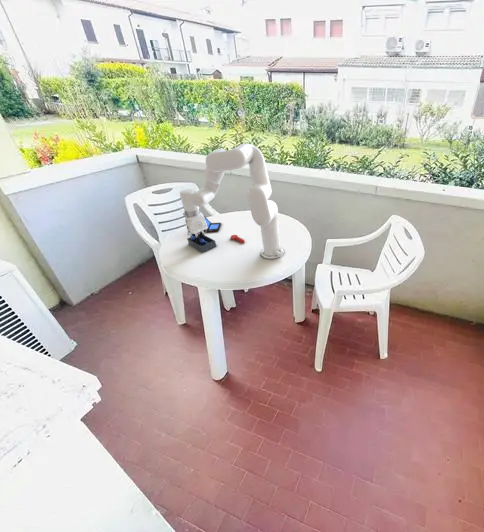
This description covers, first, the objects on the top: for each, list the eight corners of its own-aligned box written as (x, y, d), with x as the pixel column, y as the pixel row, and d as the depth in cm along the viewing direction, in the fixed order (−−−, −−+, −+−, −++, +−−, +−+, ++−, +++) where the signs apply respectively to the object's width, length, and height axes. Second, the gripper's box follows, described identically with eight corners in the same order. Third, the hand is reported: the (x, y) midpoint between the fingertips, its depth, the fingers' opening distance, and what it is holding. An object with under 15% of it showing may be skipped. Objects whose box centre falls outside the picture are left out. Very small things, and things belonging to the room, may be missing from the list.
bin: (216, 246, 169) (215, 240, 167) (202, 252, 163) (201, 246, 161) (202, 238, 177) (200, 233, 175) (188, 244, 171) (187, 238, 169)
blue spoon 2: (213, 245, 169) (212, 242, 168) (207, 248, 167) (206, 245, 165) (202, 239, 175) (201, 236, 174) (196, 242, 173) (195, 238, 171)
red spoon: (247, 242, 174) (246, 238, 173) (241, 244, 171) (240, 241, 170) (235, 236, 180) (234, 233, 179) (229, 238, 177) (229, 235, 176)
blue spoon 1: (206, 241, 165) (206, 238, 164) (200, 244, 162) (199, 241, 161) (196, 235, 171) (195, 232, 170) (189, 238, 168) (188, 235, 167)
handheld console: (218, 232, 184) (216, 222, 180) (201, 233, 183) (198, 222, 179) (221, 223, 195) (219, 213, 190) (205, 224, 194) (203, 214, 189)
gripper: (182, 218, 148) (191, 248, 158) (209, 209, 158) (216, 238, 169) (175, 215, 152) (184, 244, 162) (202, 206, 162) (209, 234, 172)
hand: (200, 241), depth 165 cm, fingers closed on blue spoon 1, 2 cm apart
